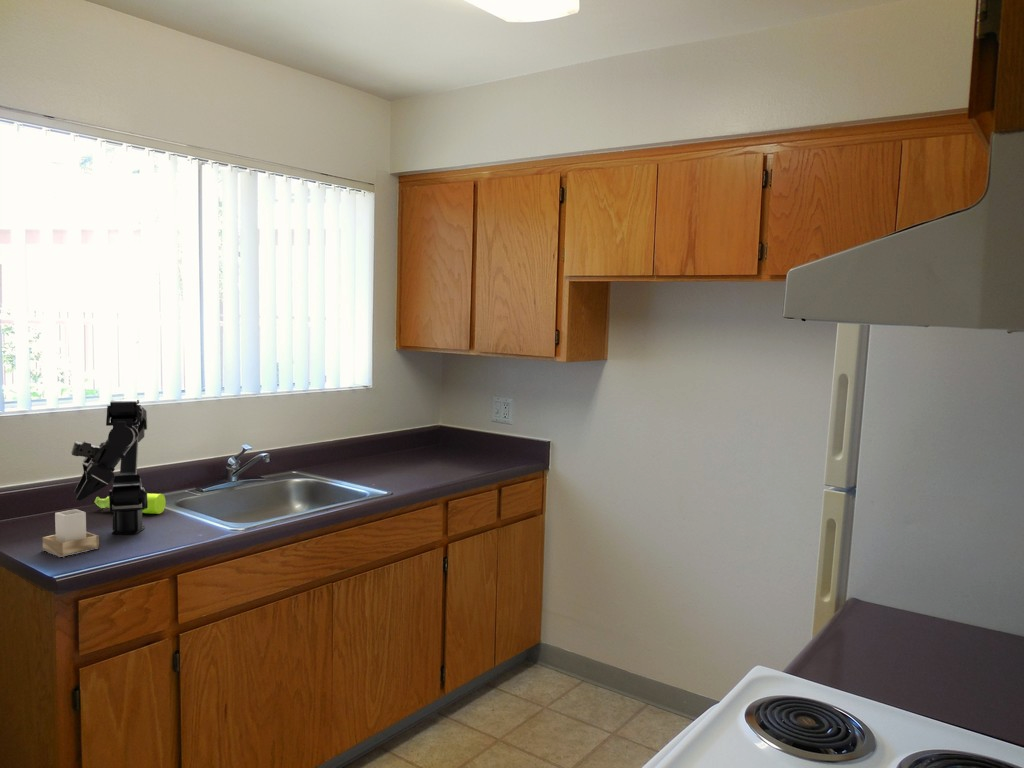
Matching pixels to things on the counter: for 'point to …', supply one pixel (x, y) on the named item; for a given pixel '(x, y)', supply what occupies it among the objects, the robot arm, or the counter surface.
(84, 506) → the counter surface
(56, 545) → the pine crate
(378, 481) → the counter surface
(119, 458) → the robot arm
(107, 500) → the soap dispenser
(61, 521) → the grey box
